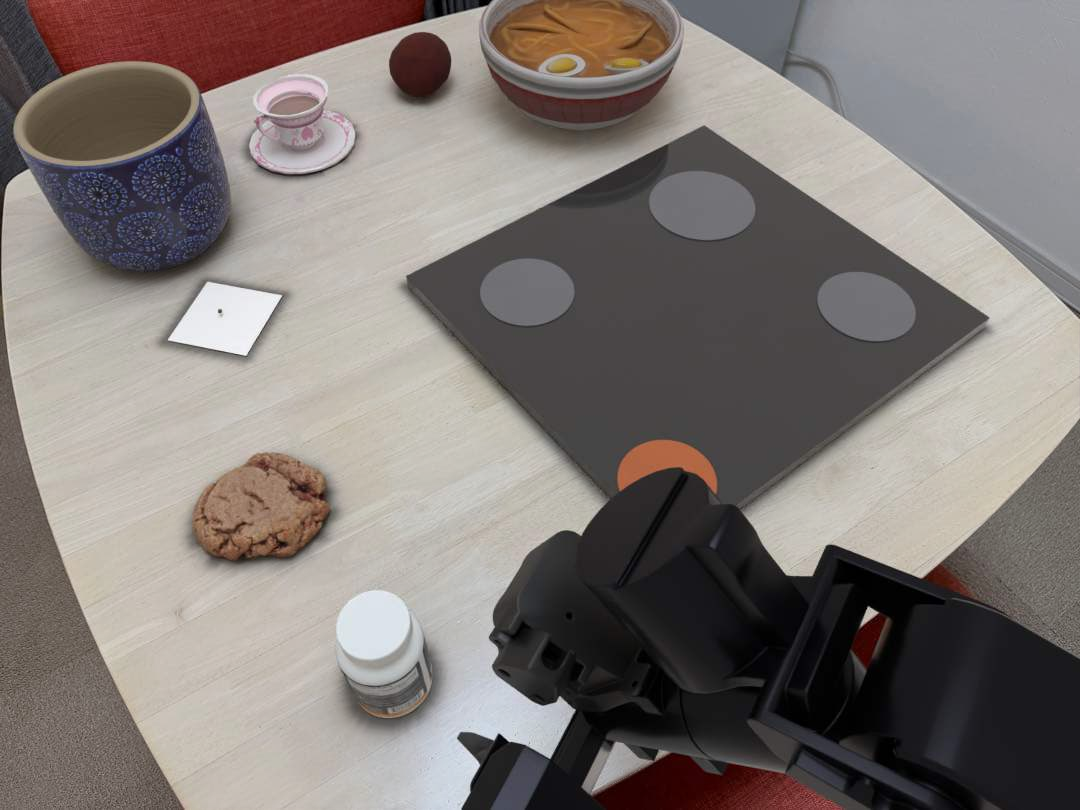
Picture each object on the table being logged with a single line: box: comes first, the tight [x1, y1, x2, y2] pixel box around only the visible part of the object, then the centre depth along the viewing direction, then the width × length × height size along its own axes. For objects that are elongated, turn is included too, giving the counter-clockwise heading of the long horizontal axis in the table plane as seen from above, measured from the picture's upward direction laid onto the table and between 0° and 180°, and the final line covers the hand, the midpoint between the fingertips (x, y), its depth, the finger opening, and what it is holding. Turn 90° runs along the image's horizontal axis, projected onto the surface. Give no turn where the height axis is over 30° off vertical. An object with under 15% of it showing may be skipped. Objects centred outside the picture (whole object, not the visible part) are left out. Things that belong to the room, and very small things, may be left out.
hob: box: [405, 125, 991, 510], centre depth 85 cm, size 38×40×2 cm
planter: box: [12, 60, 232, 272], centre depth 86 cm, size 17×17×15 cm
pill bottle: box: [334, 589, 434, 719], centre depth 59 cm, size 6×6×10 cm
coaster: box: [167, 281, 283, 357], centre depth 84 cm, size 8×8×1 cm
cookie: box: [191, 451, 331, 561], centre depth 70 cm, size 10×11×3 cm
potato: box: [388, 31, 452, 99], centre depth 106 cm, size 7×8×7 cm
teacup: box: [248, 73, 357, 175], centre depth 99 cm, size 12×12×6 cm
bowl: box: [478, 0, 685, 131], centre depth 102 cm, size 23×23×10 cm
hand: (507, 666), depth 50 cm, fingers open, 9 cm apart
